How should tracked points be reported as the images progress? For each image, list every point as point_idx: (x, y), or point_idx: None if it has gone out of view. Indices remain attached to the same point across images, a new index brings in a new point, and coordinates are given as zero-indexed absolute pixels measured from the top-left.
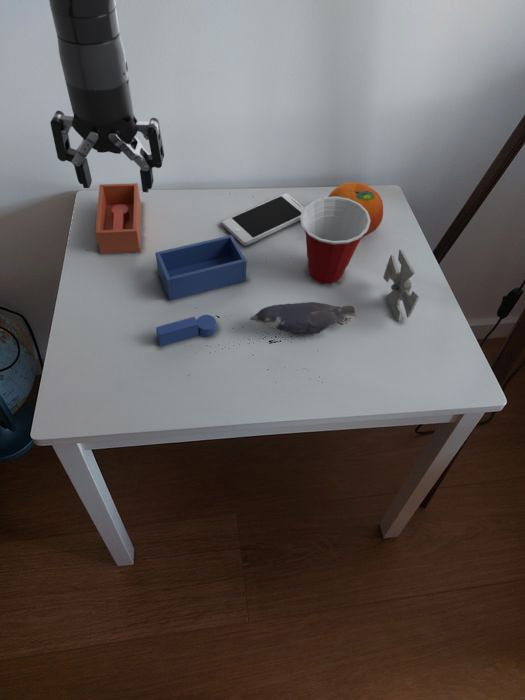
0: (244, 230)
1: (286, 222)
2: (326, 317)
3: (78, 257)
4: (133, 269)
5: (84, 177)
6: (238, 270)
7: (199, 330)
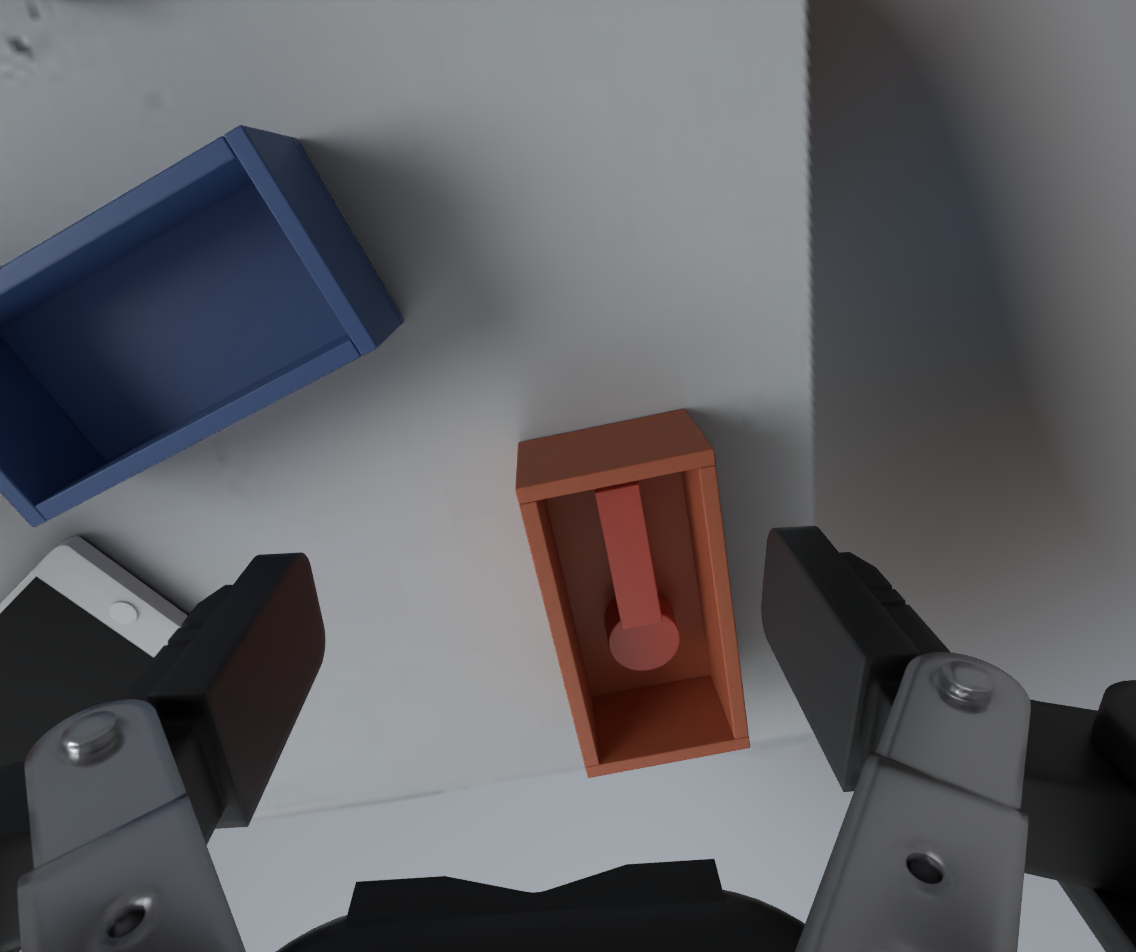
0: (91, 612)
1: None
2: None
3: (776, 374)
4: (522, 330)
5: (825, 580)
6: None
7: None
